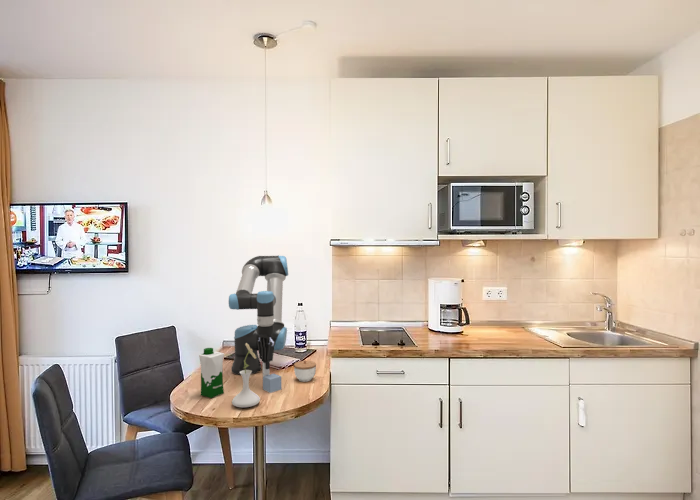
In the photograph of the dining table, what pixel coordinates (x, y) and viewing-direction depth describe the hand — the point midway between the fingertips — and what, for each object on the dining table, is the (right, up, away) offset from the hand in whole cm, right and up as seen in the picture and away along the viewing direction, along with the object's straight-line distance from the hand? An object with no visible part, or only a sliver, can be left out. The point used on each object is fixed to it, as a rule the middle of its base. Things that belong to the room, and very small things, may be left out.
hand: (266, 375), depth 191 cm
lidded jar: (+17, -5, +10) cm, 21 cm away
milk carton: (-22, -6, -8) cm, 24 cm away
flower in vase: (-4, -6, -19) cm, 21 cm away
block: (+3, -6, -3) cm, 7 cm away
